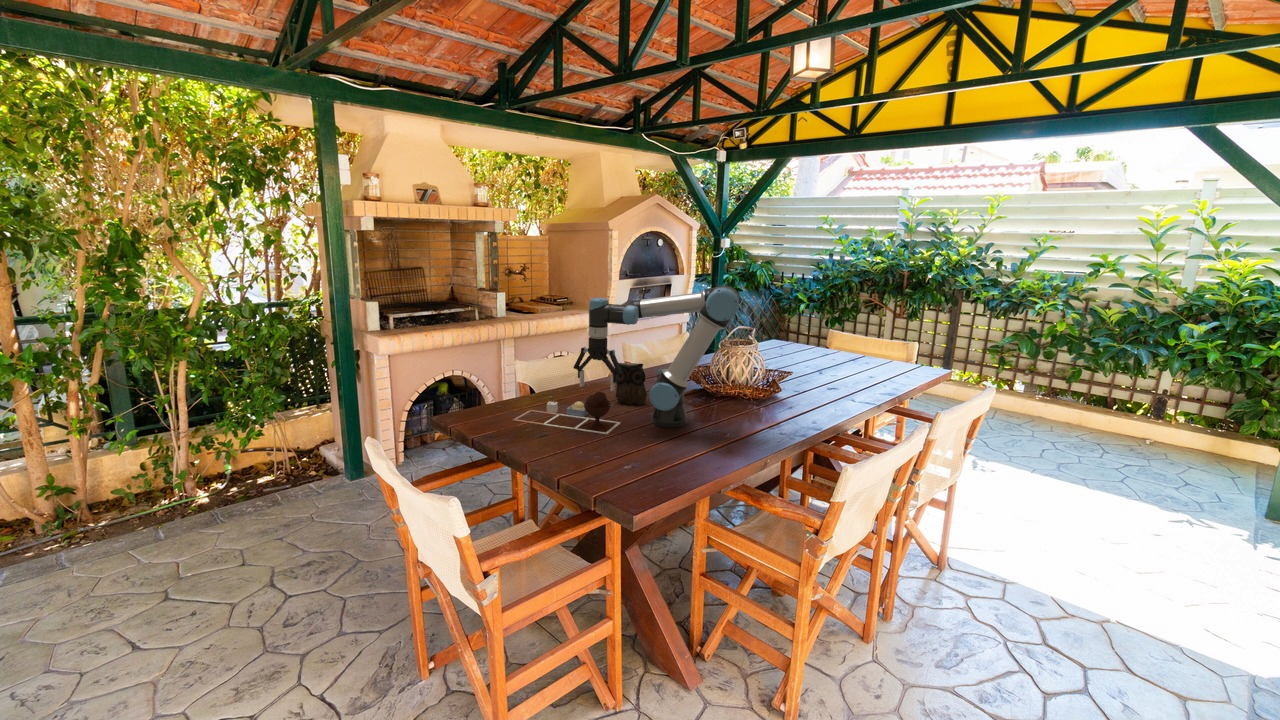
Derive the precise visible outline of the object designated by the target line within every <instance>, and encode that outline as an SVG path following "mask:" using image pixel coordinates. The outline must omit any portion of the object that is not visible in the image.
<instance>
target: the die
mask: <svg viewBox="0 0 1280 720" xmlns="http://www.w3.org/2000/svg"><path fill="white" fill-rule="evenodd" d="M558 408H559V406H558V402H557V401H548V402H547V403H546V412H550V413H558Z"/></svg>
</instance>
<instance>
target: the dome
mask: <svg viewBox="0 0 1280 720" xmlns="http://www.w3.org/2000/svg"><path fill="white" fill-rule="evenodd" d="M573 404H574V405H573ZM573 404H572V405H573V406H572V409H578V410H584V409H585V407H584V404H585V403H584V402H583V401H581V400H580V401H579V400H578V401H575V402H574V403H573Z"/></svg>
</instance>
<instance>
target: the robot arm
mask: <svg viewBox="0 0 1280 720" xmlns="http://www.w3.org/2000/svg"><path fill="white" fill-rule="evenodd" d="M739 306H740V295H739V292H738V291H737V289H735V288H734V287H732V286H730V285H726V284H725V285H724V284H723V285H719V286H716V287H712V288H705V289H703V290H702V291H701V292H700V291H699V292H694V293H692V292H691V293H685V294H677V295H668V296H660V297H652V298H644V299H643V298H642V299H630V300H627V301H624V302H623V303H621V304H614V303H613V304H612V303H609V299H608V298H605V297H593V298H591V299H590V300H589V304H588V336H589V337H588V347H586V346H583V347H581V348H580V354H578V357H577V359H576V361H575V364H574V365H573V366H572V367H573V369H574V370H577V379H579V388H582V387H584V386H585V369H584V368H585V367H586V366H587V365H588V364H589V362H590V361H591V360H592V361H594V360H595V361H602V362H603V363H604V364H605V366H606V367H607V369H608V370H609V371H610V372H611V375H610V391H611V392H613V391H615V390H616V382H617V374H620V373H622V370H621V368H620V366H619V363H620V362H619V361H618V359H617V357H616V351H615V349H612V350H611V349H610V350H609V349H608V336H609V335H608V334H609V333H608V326H609V325H608V324H619V325H628V326H629V325H636V324H637V323H638V321H639V319H643V318H644V319H645V318H652V317H660V316H661V317H662V316H672V315H680V314H689V313H698V312H699V319H698V321H697V322H696V324H695V326H694V327H693V329H692V330H691V332H690V333H689V334H688V337H687V338H686V341H684V343H683V345H682V346H681V348H680V350H679V351H678V353H677V355H676V356H675V358H674V359H673V361H672V362H671V364H670V365H669V367H668V368H660V369H657V372H656V373H657V374H656V381H655V382H654V384H653V385H651V388H650V390H649V395H648V396H649V401H650V403H651V405H652V406H653V407H654V409H653V412H652V415H651V423H652V424H653V425H655V426H658V427H662V428H681V427H684V426H686V425H688V416H687V412H686V409H685V405H684V404H685V392H686V389H687V388H688V387H689V383H688V380H689V378H690V376H691V375H692V373H693V372H694V370H695V369H696V367H697V366H698V364H699V362H700V361H701V359H702V358H703V356H704V355H705V353H706V351H707V350H708V349H709V347H710V345H711V344H712V342H713V341H714V339H715V337H716V336H717V334H718V333H719V331H720V330H724V329H726V328H727V326H728V325H729V323H730V321H731V320H732V318H734V317H735V315H736V314H737V312H738V310H739ZM587 352H588V356H587V357H586V358H585V360H584V361H583V359H584V357H585V355H586V353H587ZM607 355H608V356H609V357H610V359H609V358H608V356H607ZM610 360H611V361H610ZM582 361H583V362H582Z"/></svg>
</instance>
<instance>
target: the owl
mask: <svg viewBox="0 0 1280 720" xmlns="http://www.w3.org/2000/svg"><path fill="white" fill-rule="evenodd" d="M618 363H619V366H620V368H621V370H622V373H620V374H617V382H616V383H615V385H616V387H615V390H616V391H615V398H616V399H617V403H616V404H618V405H620V406H623V407H624V406H627V407H642V406H645V402H646V400H647V396H648V393H647V388H646V384H645V382H646V373H645V371H644V368H643V367H644V363H635V362H618Z"/></svg>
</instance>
